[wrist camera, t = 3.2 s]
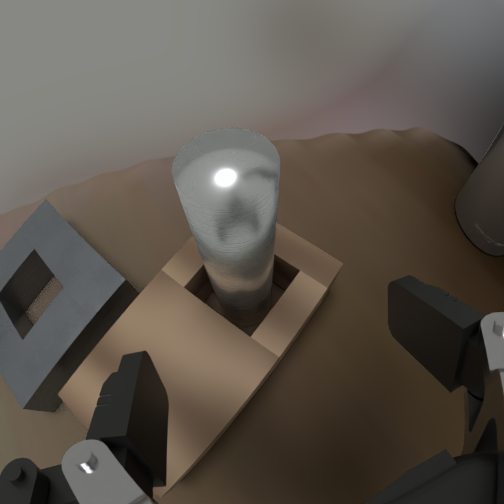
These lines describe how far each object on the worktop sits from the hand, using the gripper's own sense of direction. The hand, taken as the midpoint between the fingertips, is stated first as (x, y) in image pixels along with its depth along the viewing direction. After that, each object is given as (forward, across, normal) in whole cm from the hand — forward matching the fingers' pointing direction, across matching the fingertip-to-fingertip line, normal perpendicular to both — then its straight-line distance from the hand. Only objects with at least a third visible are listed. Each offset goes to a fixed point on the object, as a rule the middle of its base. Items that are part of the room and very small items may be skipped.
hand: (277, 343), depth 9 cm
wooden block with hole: (+13, +4, +8) cm, 16 cm away
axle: (+15, 0, +6) cm, 16 cm away
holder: (+18, +18, +3) cm, 25 cm away
